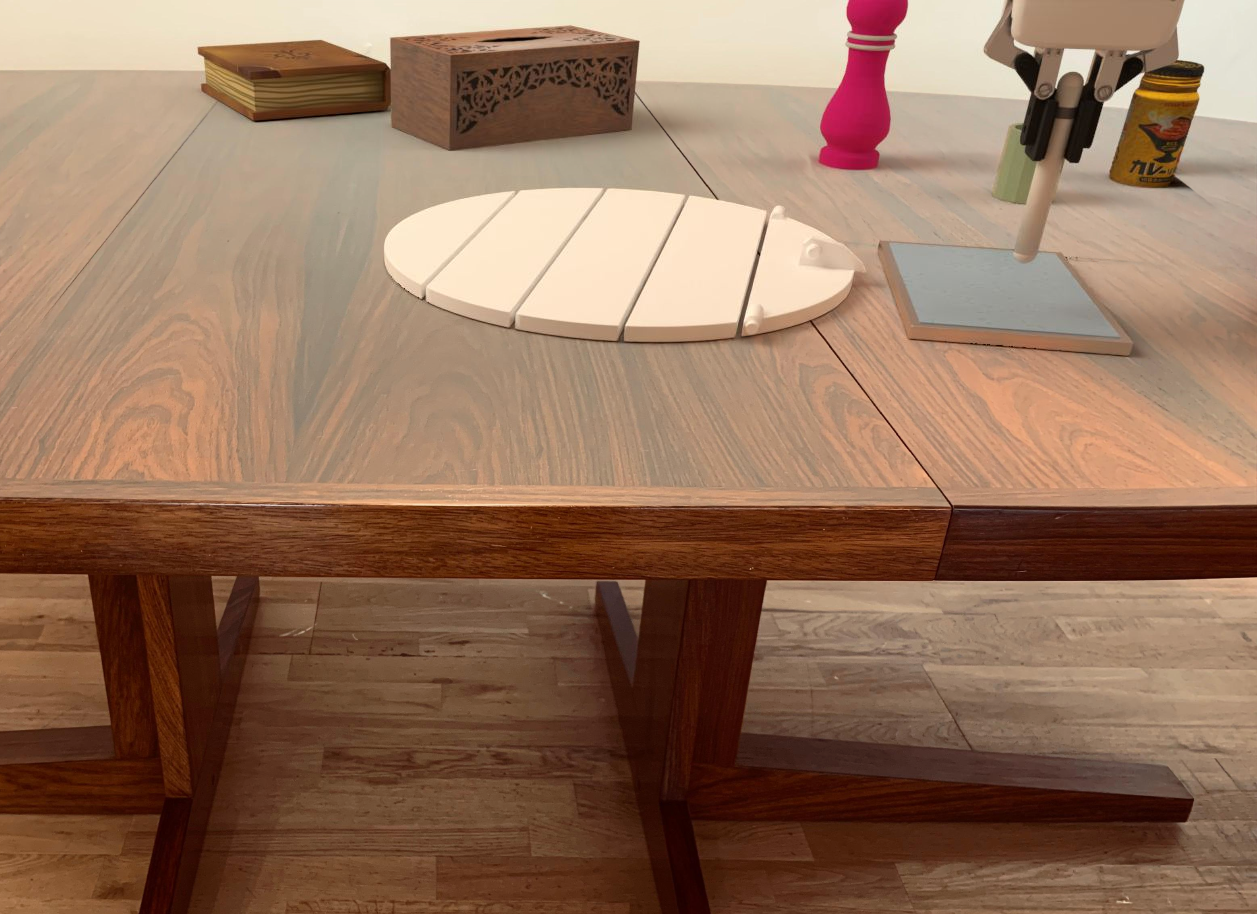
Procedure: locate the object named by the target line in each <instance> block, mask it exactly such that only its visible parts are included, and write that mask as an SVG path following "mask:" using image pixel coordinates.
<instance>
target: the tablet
mask: <svg viewBox="0 0 1257 914" xmlns="http://www.w3.org/2000/svg"><path fill="white" fill-rule="evenodd" d="M1013 252H1014V248H1001V247H1000V248H999V247H985V246H972V245H971V246H969V245H955V244H939V243H924V242H909V241H895V240H894V241H893V240H879V241H878V245H877V254H878V257H879V259H880V262H881V265H882V268H883V271H884V273H885V276H886V279H887V281H888V285H889V287H890V290H891V293H892V296H893V299H894V302H895V304H896V307H897V310H898V312H899V315H900V317H901V321H902V324H903V326H904V329H905V333H906V335H907V338H908V339H909V340H920V341H921V340H922V341H933V342H945V341H946V342H948V343H958V344H959V343H960V344H970V343H973V344H972V345H983V344H986V346H988V345H987V344H990V345H989V346H996V345H1003V346H1002V347H1009V346H1010V347H1011V346H1013V347H1011V348H1022V347H1026V348H1025V349H1034V348H1036V350H1048V351H1050V350H1051V351H1060V350H1061V352H1062V351H1063V352H1073V353H1074V352H1075V353H1085V354H1099V355H1100V354H1101V355H1110V356H1111V355H1113V356H1125V357H1129V356H1130V355H1131V352H1132V349H1133V346H1134V341H1133V340H1132V339H1131V338H1130V337H1129V335H1128V333H1126V331H1125V330H1124V329H1123V328H1122V326H1121V325H1120V324H1119V323H1118V322H1117V320H1116V319H1115V317H1113V315H1112V314H1111V313H1110V311H1109V310H1108V308H1107V307H1106V306H1105V305H1104V304H1103V302H1102V301H1101V300H1100V298H1098V297H1097V295H1096V294H1095V293H1094V291H1093V289H1091V287H1090V286H1089V285H1088V284H1087V282H1086V281H1085V280H1084V278H1082V276H1081V275H1080V273H1079V272H1078V271H1077V270H1076V269H1075V268H1074V266H1073V265H1072V264H1071V262H1070V261H1069V260H1068V259H1067V258H1066V256H1065V255H1064V254H1063V253H1062V252H1061V251H1060V252H1059V251H1046V250H1038V253H1037V256H1036V258H1035V259H1034V260H1033V261H1031V262H1029V263H1025V264H1024V263H1019V262H1018V261H1016V260H1015V258H1014V255H1013ZM975 343H977V344H975Z"/></svg>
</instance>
